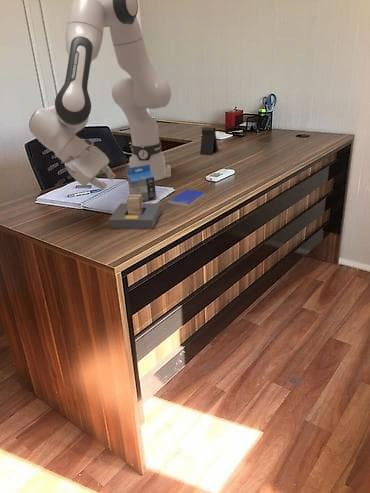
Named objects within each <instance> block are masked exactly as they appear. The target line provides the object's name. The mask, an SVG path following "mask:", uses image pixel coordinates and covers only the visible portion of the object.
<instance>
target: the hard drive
mask: <svg viewBox="0 0 370 493" xmlns="http://www.w3.org/2000/svg"><path fill="white" fill-rule="evenodd" d="M205 195H206V192H205V191H199V190H192V189H185V190H184V191H182V192H180V193H178V194H177V195H175V196H174V197H172V198H170V199H168V200H167V201H168V204H174V205H178V206H183V207H184V206H185V207H189V206H190V205H192V204H193V203H195V202H197V201H198V200H199V199H201V198H202V197H204V196H205Z"/></svg>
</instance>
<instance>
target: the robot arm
mask: <svg viewBox="0 0 370 493" xmlns="http://www.w3.org/2000/svg"><path fill="white" fill-rule="evenodd" d="M70 6H71V7H70V10H69V13H68V16H67V17H68V18H67V22H66V28H65V51H66V52H67V54H68V60H67V61H68V62H67V69H66V74H65V78H64V83H63V85H62V87H61V89H59V91H58V93H57V95H56V97H55V99H54V104H53V105H49V106H46V107H39V108H37V109H36V110H35V111H34V112H33V114H32V115H31V116H30V117H31V118H30V120H29V123H28V129H29V132H30V133H31V134H32V136H33V137H35V139H36V140H38V142H39V143H41V144H42V145H43V146H44V147H45V148H46V149H49V150H51V151H52V152H53V153H54V154H55V157H57V158H58V159H59V160H60V161H62V163H64V167H65V168H66V170H67V173H68V174H69V175H70V176H71V177H72V178H73V179H74V180H75V181H76V182H77V183H79V184H80V185H81V186H82V187H83V186H84V187H86V186H87V185H88V184H91V185H92V186H94V187H96V188H98V189H100V190H101V191H104V190H105V189H106V188H107V186H108V184H106V183H105V182H104V181H101V180H99V179H98V177H97V176H98V175H99V174H100V173H101V172H103V173H104V174H105V175H106V176H107V178H108V179H109V180H111V181H113V180H114V179H115V178H116V177H117V176H116V174H115V173H114V172H113V171H112V169H111V168H110V167H109V163H110V161H111V160H110V159H109V158H108V156H107V155H106V154H105V153H104V152H103V151H102V150H101V149H99V147H97V146H95V145H94V142H93V141H92V140H91V139H89V138H85V139H84V138H80V137H78V135H77V134H78V133H79V132H80V131H81V130H83V129H84V128H85V127H86V126H87V125H88V122H89V119H90V113H91V110H92V102H91V98H90V94H89V90H88V84H89V77H90V76H89V75H90V70H91V64H92V62H93V61H94V60H96V59H97V58H98V56H99V52H100V51H101V47H102V43H103V36H104V28H109V33H110V38H111V41H112V47H113V49H114V50H113V51H114V54H115V58H116V60H117V64H118V66H119V68H120V69H122V70H123V71H124V72H126V73H127V74H128V75H129V77H125V78H121V79H119V80H116V81H115V82H114V83H113V85H112V87H111V96H112V99H113V102H114V103H115V104H116V105H118V107H119V108H120V109H121V111H122V112H123V113H124V115H125V118H126V119H127V123H128V125H129V131H130V138H131V146H130V147H131V153H132V155H131V156H130V157H129V159H128V160H129V168H132V167H137V166H143V165H149V164H150V171H151V173H152V174H153V176H154V180H155V182H156V181H160V180H163V179H166V178H171V177H172V168H171V164H166V156H165V154H164V153H163V151H162V144H161V140H160V134H159V125H158V122H157V120H155V118H154V117H152V116H151V115H150V113H149V112H148V110H149V109H151V110H152V109H153V110H155V109H161V108H165V107H167V105H169V103H170V101H171V97H172V89H171V86H170V85H169V83H168V82H167V81H166V80H165V79H163V78H162V77H161V76H160V75H159V74H158V73H157V71H156V70H155V68H154V67H153V65H152V63H151V61H150V59H149V56H148V52H147V50H146V45H145V41H144V37H143V33H142V29H141V26H140V22H139V20H138V17H137V15H138V12H139V4H138V0H73V1H72V4H71V5H70ZM142 170H143V169H138V170H135V172H136V171H142Z"/></svg>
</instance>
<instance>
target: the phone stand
mask: <svg viewBox="0 0 370 493" xmlns="http://www.w3.org/2000/svg"><path fill="white" fill-rule="evenodd" d="M216 130H217V129H216V128H215V127H205V126H204V127H202V128H201V139H200V140H201V142H200V152H199V155H203V156H204V155H205V156H213V155H214V154H215V153H217V152H218V151H219V146H218V140H217V134H216V132H217V131H216Z"/></svg>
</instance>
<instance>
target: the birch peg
mask: <svg viewBox="0 0 370 493" xmlns="http://www.w3.org/2000/svg"><path fill="white" fill-rule="evenodd" d="M126 203H127V209H128V215H143V203H144V202H142V195H130V194H128V195H127V197H126Z"/></svg>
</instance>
